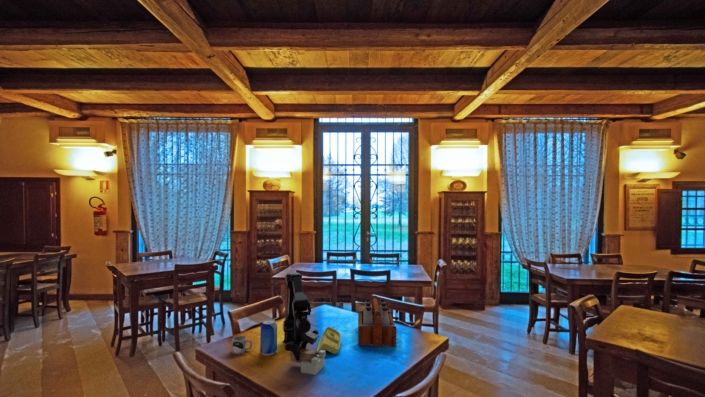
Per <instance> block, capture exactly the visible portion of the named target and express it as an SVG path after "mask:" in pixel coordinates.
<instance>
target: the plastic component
mask: <svg viewBox="0 0 705 397" xmlns="http://www.w3.org/2000/svg"><path fill="white" fill-rule="evenodd" d="M341 340H342V335H341V334H340V332H339V331H338V330H336V329H335V328H333V327H331V326H327V327H326V328H325V329H324V331H323V334H322V335H321V337H320V340H319V342H318V344H317V347H316V351H317V354H319V351H320V350H326V351H328V352H329V353H330V354H331V353H332V354H333V355H335V354H338V352H339V350H340V349H341V348H340V347H341Z"/></svg>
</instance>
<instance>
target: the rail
mask: <svg viewBox="0 0 705 397" xmlns="http://www.w3.org/2000/svg"><path fill="white" fill-rule="evenodd" d="M317 355H318V353H317V350H314V349H308V348H306V349H303V348H302V349H301V350H300V357H299V361H297V360H296V358H295V356H294V354H293V352H292V351H290V362H292V363H298V364H301V362H302V361H307V362H311V359H312V358H313V357H317Z"/></svg>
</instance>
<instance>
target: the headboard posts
mask: <svg viewBox="0 0 705 397" xmlns="http://www.w3.org/2000/svg"><path fill="white" fill-rule="evenodd" d="M326 351H327V350H325V349H322V350H320V351H319V353H318V354H317V357H313V358H312V359H311V362H307V361H302V362H301V363H300V373H303V374H308V375H311V376H312V375H313V376H316V375H317V374H318V373H319V372H320V371H321V369H322V368H323V367H325V357H326V355H327V352H326Z"/></svg>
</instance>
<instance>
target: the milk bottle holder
mask: <svg viewBox="0 0 705 397" xmlns="http://www.w3.org/2000/svg"><path fill="white" fill-rule="evenodd" d="M378 298H379V297H378V296H377V295H372V296H371V298H369V297H367V298H365V301H364V303H365V304H364V307H363V309H359V310H358V312H357V313H358V315H357V316H358V318H357V329H358V330H357V345H358V346H372V347H383V346H392V347H396V346H397V325H395V322H394V319H393V314H392V311H391V310H388V307H387V303H386V299H385V298H380V303H378ZM379 304H380V305H379Z"/></svg>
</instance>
